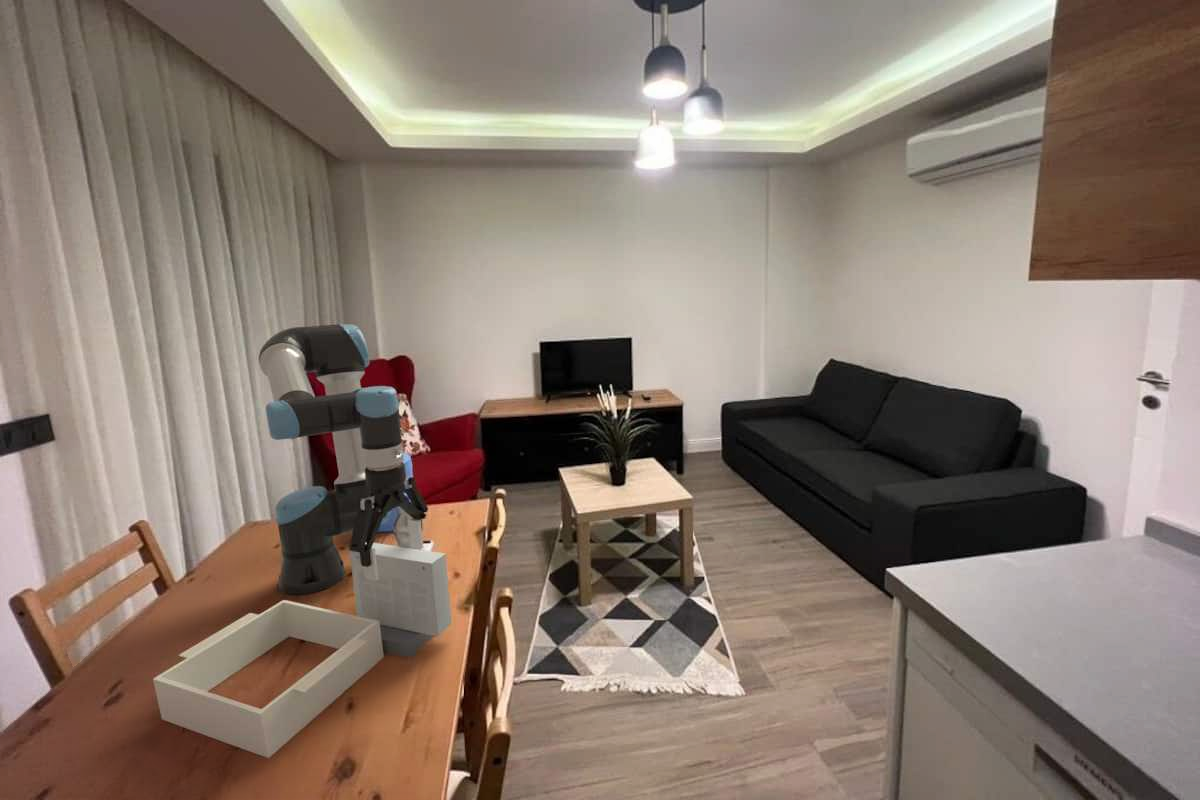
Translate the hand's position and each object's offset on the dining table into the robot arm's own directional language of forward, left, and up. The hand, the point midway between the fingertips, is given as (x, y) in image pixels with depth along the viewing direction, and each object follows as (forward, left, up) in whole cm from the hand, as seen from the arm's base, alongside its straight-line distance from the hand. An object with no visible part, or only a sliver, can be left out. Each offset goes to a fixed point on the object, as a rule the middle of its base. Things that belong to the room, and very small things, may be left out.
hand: (395, 562), depth 115 cm
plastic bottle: (-14, +20, -17) cm, 29 cm away
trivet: (0, 0, -17) cm, 17 cm away
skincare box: (0, 0, -14) cm, 14 cm away
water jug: (-44, +47, -17) cm, 66 cm away
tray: (-12, -20, -17) cm, 29 cm away
